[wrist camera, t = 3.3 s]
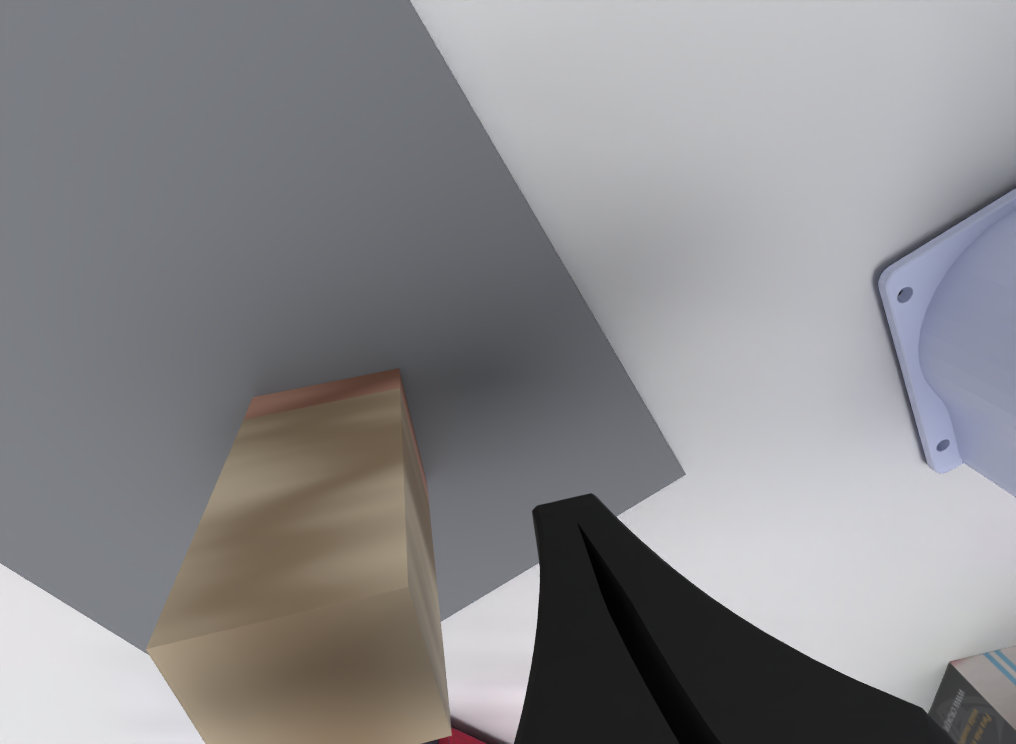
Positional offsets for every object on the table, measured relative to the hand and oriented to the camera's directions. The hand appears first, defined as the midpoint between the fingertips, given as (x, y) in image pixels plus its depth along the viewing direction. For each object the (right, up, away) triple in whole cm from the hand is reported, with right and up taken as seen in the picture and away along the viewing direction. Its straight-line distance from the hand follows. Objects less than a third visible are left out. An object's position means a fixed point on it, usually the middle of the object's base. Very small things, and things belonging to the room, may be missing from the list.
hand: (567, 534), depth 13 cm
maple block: (-6, +1, +4) cm, 8 cm away
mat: (-8, +2, +4) cm, 9 cm away
